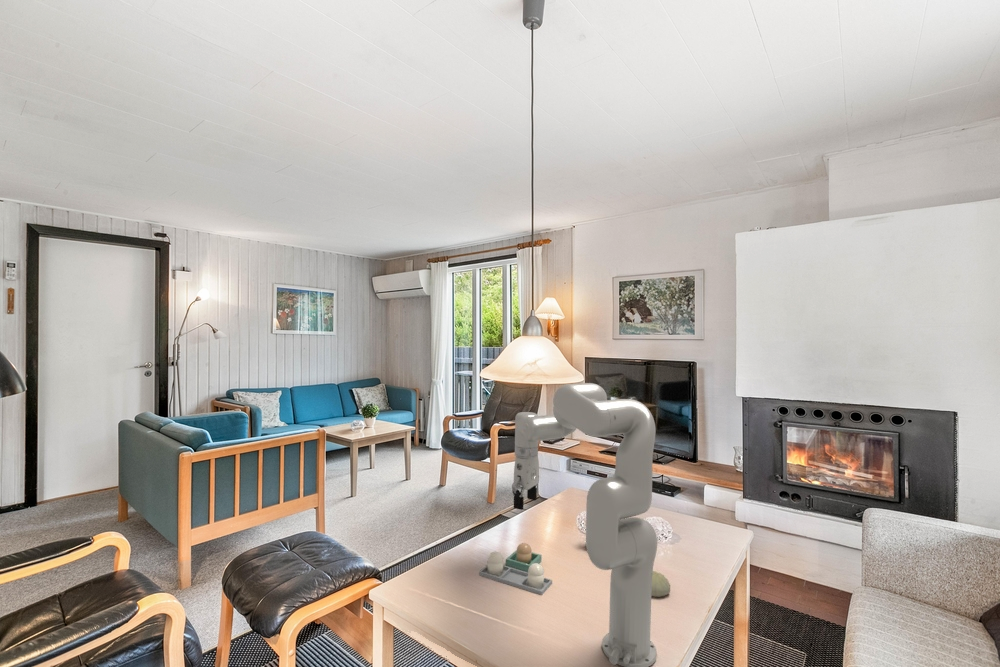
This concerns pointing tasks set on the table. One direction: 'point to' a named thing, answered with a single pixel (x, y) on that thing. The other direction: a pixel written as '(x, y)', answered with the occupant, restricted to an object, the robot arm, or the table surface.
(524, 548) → the brown egg
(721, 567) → the table surface
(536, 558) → the egg holder
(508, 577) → the egg carton
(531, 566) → the cream egg right
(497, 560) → the cream egg left
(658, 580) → the sea urchin shell
